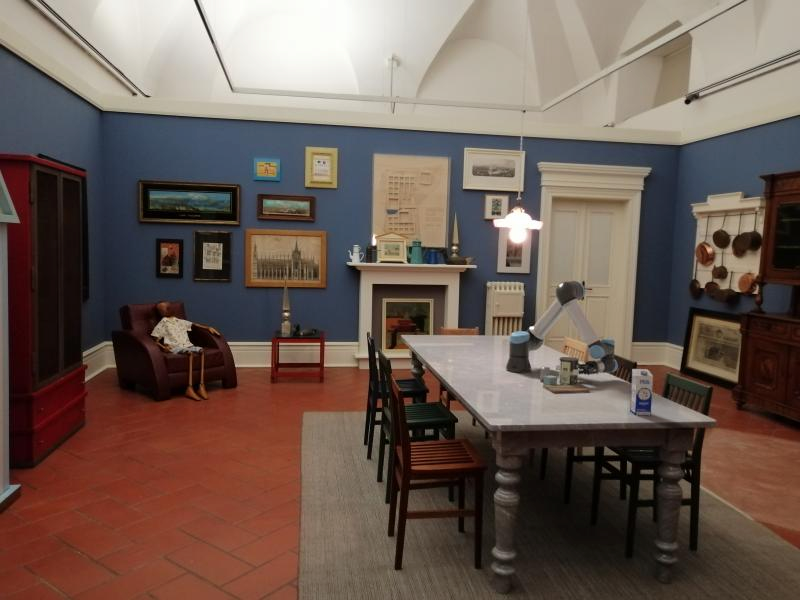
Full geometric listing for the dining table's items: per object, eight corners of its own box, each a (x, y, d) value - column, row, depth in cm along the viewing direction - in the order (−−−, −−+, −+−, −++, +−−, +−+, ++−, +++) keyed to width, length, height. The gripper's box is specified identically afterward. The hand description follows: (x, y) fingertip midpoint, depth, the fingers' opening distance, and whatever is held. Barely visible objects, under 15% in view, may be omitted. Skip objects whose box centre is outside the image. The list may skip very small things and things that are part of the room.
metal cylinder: (538, 380, 324) (539, 366, 323) (546, 380, 325) (547, 366, 324) (542, 382, 319) (543, 368, 318) (550, 382, 320) (551, 368, 319)
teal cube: (543, 385, 314) (543, 376, 314) (550, 384, 316) (551, 375, 316) (549, 387, 310) (549, 377, 309) (556, 386, 312) (557, 377, 311)
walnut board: (542, 387, 308) (543, 385, 308) (577, 386, 312) (577, 384, 312) (553, 393, 295) (553, 391, 295) (589, 392, 299) (589, 390, 299)
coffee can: (576, 382, 322) (577, 357, 321) (578, 386, 312) (579, 360, 311) (557, 381, 324) (558, 356, 323) (559, 385, 314) (560, 359, 313)
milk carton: (645, 411, 264) (647, 368, 262) (651, 416, 257) (653, 372, 255) (629, 411, 264) (632, 368, 262) (635, 415, 257) (637, 371, 255)
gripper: (610, 378, 315) (580, 381, 305) (577, 369, 337) (549, 372, 328) (611, 364, 314) (581, 367, 305) (578, 356, 336) (550, 359, 327)
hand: (564, 369), depth 316 cm, fingers open, 13 cm apart
